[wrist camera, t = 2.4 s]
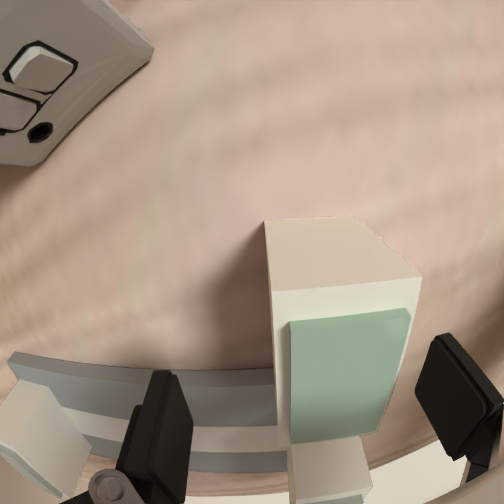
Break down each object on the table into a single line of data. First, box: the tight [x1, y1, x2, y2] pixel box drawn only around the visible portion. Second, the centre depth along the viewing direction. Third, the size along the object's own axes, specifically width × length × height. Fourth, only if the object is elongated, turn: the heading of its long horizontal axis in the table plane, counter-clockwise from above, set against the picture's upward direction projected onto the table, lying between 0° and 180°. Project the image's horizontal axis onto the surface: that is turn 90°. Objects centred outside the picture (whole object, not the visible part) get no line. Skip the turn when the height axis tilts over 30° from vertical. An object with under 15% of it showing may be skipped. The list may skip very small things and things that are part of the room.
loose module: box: [264, 215, 422, 447], centre depth 12 cm, size 4×8×8 cm, turn 5°
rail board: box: [7, 352, 288, 473], centre depth 20 cm, size 28×13×2 cm, turn 95°
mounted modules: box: [0, 379, 373, 504], centre depth 15 cm, size 27×9×8 cm, turn 95°
